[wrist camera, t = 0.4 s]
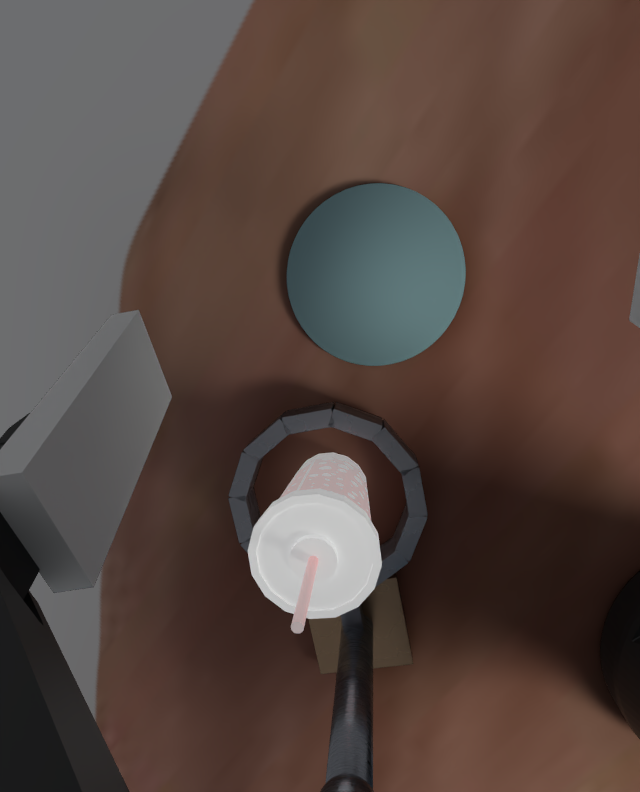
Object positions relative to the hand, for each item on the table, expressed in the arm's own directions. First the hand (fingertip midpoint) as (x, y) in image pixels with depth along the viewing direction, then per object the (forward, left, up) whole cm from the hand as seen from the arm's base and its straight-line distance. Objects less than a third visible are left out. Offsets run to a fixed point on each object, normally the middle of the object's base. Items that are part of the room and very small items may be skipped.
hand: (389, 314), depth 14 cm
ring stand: (-14, +5, -16) cm, 22 cm away
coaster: (+2, 0, -16) cm, 16 cm away
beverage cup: (-10, +5, -16) cm, 20 cm away
